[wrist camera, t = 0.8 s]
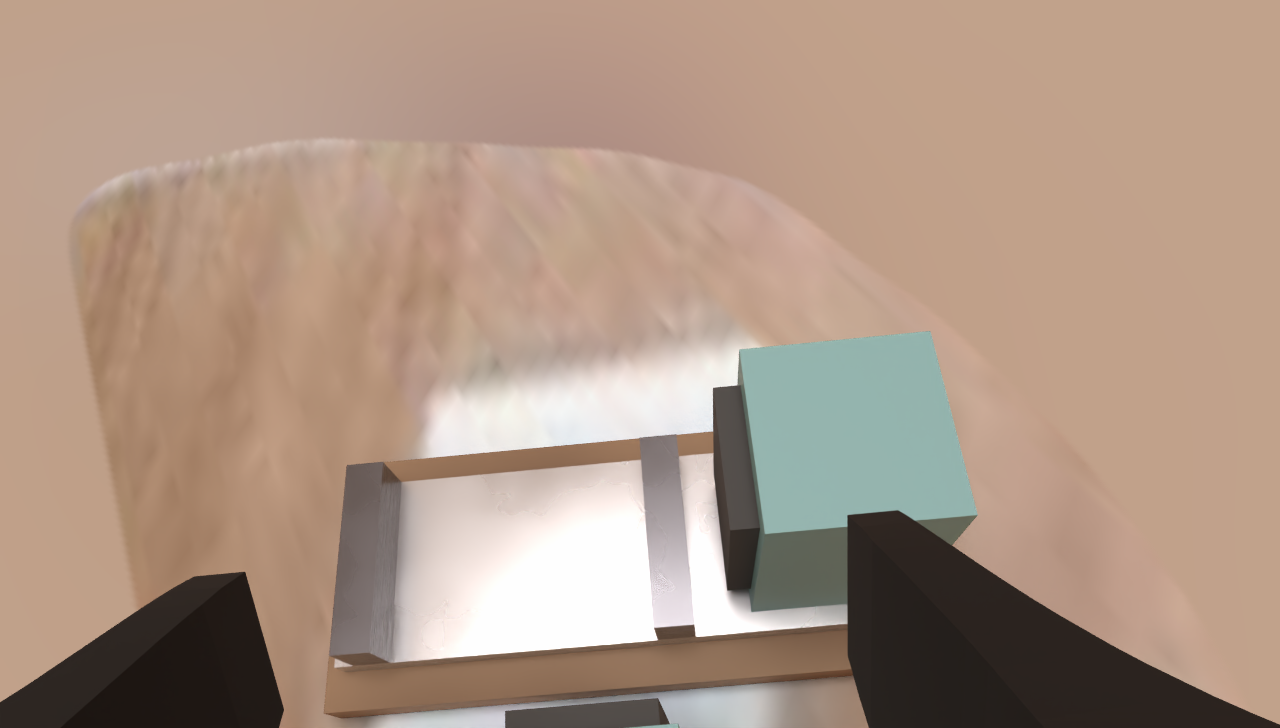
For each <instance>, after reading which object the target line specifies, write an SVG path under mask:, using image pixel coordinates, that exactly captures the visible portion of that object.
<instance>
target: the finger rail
mask: <svg viewBox="0 0 1280 728" xmlns="http://www.w3.org/2000/svg"><path fill="white" fill-rule="evenodd" d="M894 510H899V511H900V512H902V513H904V514H905V515H907V516H909V517H910V518H912V519H913V520H915V521H916V522H918V523H919V524H921V525H922V526H924V527H925V528H927V529H928V530H930V531H931V532H933V533H934V534H936V535H937V536H938V537H940V538H941V539H943V540H944V541H946V542H947V543H949V544H950V545H953V543H954V542H955V541H956V540H957V539H958V537H959V536H960V535H961V534H962V533H963V532H964V530H965V529H966V528H967V527H968V526H969V525H970V523H971V522H972V521H973V520H974V519H975V518H976V516H977V515H978V514H977V510H976V507H975V503H974V499H973V495H972V491H971V487H970V483H969V479H968V476H967V472H966V468H965V464H964V460H963V456H962V452H961V448H960V445H959V441H958V437H957V433H956V429H955V425H954V421H953V417H952V413H951V410H950V406H949V402H948V398H947V394H946V390H945V386H944V382H943V379H942V375H941V371H940V367H939V363H938V359H937V355H936V351H935V348H934V344H933V340H932V336H931V332H930V331H926V332H916V333H906V334H895V335H885V336H875V337H864V338H854V339H844V340H833V341H823V342H813V343H802V344H792V345H782V346H771V347H761V348H751V349H740V350H739V367H738V386H728V387H718V388H713V432H703V433H693V434H682V435H676V434H675V435H665V436H654V437H643V438H639V439H629V440H618V441H607V442H597V443H586V444H575V445H564V446H554V447H543V448H532V449H522V450H511V451H500V452H490V453H479V454H468V455H458V456H447V457H436V458H426V459H415V460H404V461H394V462H377V463H366V464H355V465H347V467H346V478H345V489H344V500H343V511H342V521H341V532H340V543H339V554H338V564H337V575H336V586H335V597H334V608H333V618H332V629H331V640H330V651H329V661H328V672H327V683H326V694H325V705H324V714H328V715H331V716H335V717H338V718H349V717H361V716H373V715H385V714H397V713H409V712H421V711H432V710H444V709H456V708H468V707H480V706H492V705H504V704H516V703H528V702H540V701H552V700H564V699H576V698H588V697H600V696H612V695H624V694H636V693H648V692H660V691H672V690H684V689H696V688H708V687H720V686H732V685H744V684H756V683H768V682H780V681H792V680H804V679H816V678H828V677H840V676H852V675H853V673H852V669H851V666H850V662H849V659H848V629H847V515H852V514H862V513H873V512H884V511H894Z"/></svg>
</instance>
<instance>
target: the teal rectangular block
mask: <svg viewBox="0 0 1280 728" xmlns="http://www.w3.org/2000/svg"><path fill="white" fill-rule="evenodd" d="M505 728H680V727H679V724H669V721H668V719H667V717H666V715H665V712H664V710H663V708H662V706H661V704H660V702H659V699H658V698H656V699H644V700H632V701H620V702H608V703H596V704H584V705H572V706H560V707H548V708H536V709H524V710H512V711H505Z"/></svg>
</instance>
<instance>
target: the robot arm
mask: <svg viewBox="0 0 1280 728" xmlns="http://www.w3.org/2000/svg"><path fill="white" fill-rule="evenodd" d="M847 629H848V659H849V662H850V666H851V669H852V673H853V676H854V680H855V683H856V687H857V690H858V693H859V697H860V700H861V703H862V707H863V710H864V713H865V716H866V719H867V723H868V726H869V728H1280V725H1279V724H1276V723H1274V722H1272V721H1269V720H1267V719H1265V718H1262V717H1260V716H1257V715H1255V714H1253V713H1250V712H1248V711H1246V710H1244V709H1241V708H1239V707H1237V706H1234V705H1232V704H1230V703H1228V702H1225V701H1223V700H1221V699H1219V698H1216V697H1214V696H1212V695H1210V694H1208V693H1206V692H1204V691H1202V690H1200V689H1198V688H1196V687H1193V686H1191V685H1189V684H1187V683H1185V682H1183V681H1181V680H1179V679H1177V678H1175V677H1173V676H1171V675H1169V674H1167V673H1165V672H1163V671H1161V670H1158V669H1156V668H1154V667H1152V666H1150V665H1148V664H1146V663H1144V662H1142V661H1140V660H1138V659H1137V658H1135V657H1133V656H1131V655H1129V654H1127V653H1125V652H1123V651H1121V650H1119V649H1118V648H1116V647H1114V646H1112V645H1110V644H1108V643H1107V642H1105V641H1103V640H1102V639H1100V638H1098V637H1096V636H1095V635H1093V634H1091V633H1089V632H1088V631H1086V630H1084V629H1082V628H1081V627H1079V626H1077V625H1075V624H1074V623H1072V622H1070V621H1068V620H1067V619H1065V618H1063V617H1061V616H1060V615H1058V614H1056V613H1055V612H1053V611H1051V610H1050V609H1048V608H1047V607H1045V606H1043V605H1042V604H1040V603H1038V602H1037V601H1035V600H1033V599H1032V598H1030V597H1029V596H1027V595H1026V594H1024V593H1022V592H1021V591H1019V590H1018V589H1016V588H1015V587H1013V586H1011V585H1010V584H1008V583H1007V582H1005V581H1004V580H1002V579H1001V578H999V577H998V576H996V575H995V574H993V573H992V572H990V571H989V570H987V569H986V568H984V567H983V566H981V565H980V564H978V563H977V562H975V561H974V560H972V559H971V558H969V557H968V556H966V555H965V554H963V553H962V552H960V551H959V550H957V549H956V548H955V547H953V546H952V545H950V544H949V543H947V542H946V541H944V540H943V539H941V538H940V537H938V536H937V535H936V534H934V533H933V532H931V531H930V530H928V529H927V528H925V527H924V526H922V525H921V524H919V523H918V522H916V521H915V520H913V519H912V518H910V517H909V516H907V515H905V514H904V513H902V512H900V511H899V510H894V511H884V512H873V513H862V514H852V515H847ZM283 711H284V708H283V705H282V701H281V697H280V694H279V690H278V687H277V683H276V680H275V676H274V673H273V669H272V665H271V662H270V658H269V655H268V651H267V648H266V644H265V641H264V637H263V633H262V630H261V626H260V623H259V619H258V616H257V612H256V609H255V605H254V602H253V598H252V594H251V591H250V587H249V584H248V580H247V577H246V573H245V572H238V573H228V574H217V575H206V576H196V577H193V578H191V579H189V580H187V581H185V582H183V583H182V584H180V585H178V586H176V587H174V588H173V589H171V590H169V591H168V592H166V593H165V594H163V595H161V596H160V597H158V598H157V599H155V600H153V601H152V602H150V603H149V604H147V605H146V606H144V607H143V608H141V609H140V610H138V611H137V612H135V613H134V614H132V615H131V616H129V617H128V618H126V619H125V620H123V621H122V622H120V623H119V624H117V625H116V626H114V627H113V628H111V629H110V630H108V631H107V632H105V633H104V634H102V635H101V636H99V637H98V638H96V639H95V640H93V641H92V642H91V643H89V644H88V645H86V646H85V647H83V648H82V649H80V650H79V651H77V652H76V653H74V654H73V655H71V656H70V657H68V658H67V659H65V660H64V661H63V662H61V663H59V664H58V665H56V666H55V667H53V668H52V669H51V670H49V671H47V672H46V673H45V674H43V675H42V676H40V677H39V678H38V679H36V680H34V681H33V682H31V683H30V684H28V685H27V686H25V687H24V688H22V689H20V690H19V691H18V692H16V693H14V694H13V695H11V696H9V697H8V698H6V699H5V700H3V701H2V702H0V728H279V725H280V722H281V718H282V715H283Z"/></svg>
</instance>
